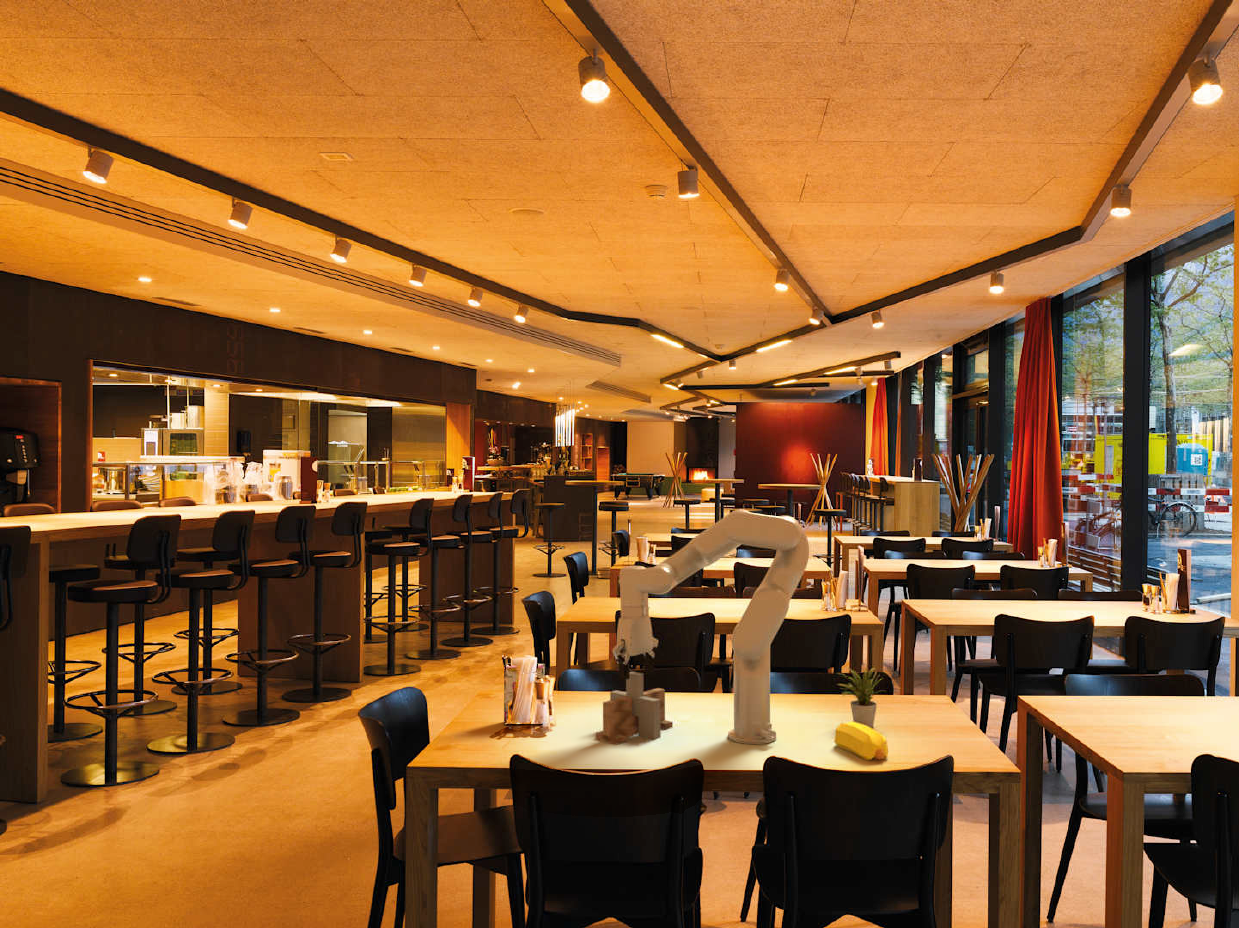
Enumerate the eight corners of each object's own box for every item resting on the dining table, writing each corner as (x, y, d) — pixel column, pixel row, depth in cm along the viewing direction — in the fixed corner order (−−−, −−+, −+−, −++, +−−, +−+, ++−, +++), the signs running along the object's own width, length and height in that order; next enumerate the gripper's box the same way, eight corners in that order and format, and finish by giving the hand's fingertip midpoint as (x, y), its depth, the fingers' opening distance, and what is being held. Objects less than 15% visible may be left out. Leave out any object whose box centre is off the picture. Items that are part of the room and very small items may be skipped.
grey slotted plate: (660, 737, 253) (660, 676, 253) (654, 739, 251) (653, 678, 251) (616, 726, 263) (616, 668, 264) (610, 728, 262) (610, 670, 262)
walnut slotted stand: (650, 722, 268) (650, 686, 268) (672, 727, 262) (672, 690, 262) (595, 738, 252) (595, 700, 252) (617, 744, 246) (617, 705, 246)
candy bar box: (503, 726, 265) (503, 667, 265) (505, 721, 270) (505, 663, 270) (544, 725, 265) (543, 666, 265) (544, 720, 270) (544, 663, 270)
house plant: (846, 715, 274) (846, 658, 274) (894, 721, 267) (894, 663, 267) (830, 727, 262) (830, 667, 262) (880, 733, 255) (880, 672, 255)
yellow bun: (853, 741, 248) (828, 744, 245) (853, 716, 248) (827, 718, 246) (895, 761, 231) (868, 765, 229) (895, 734, 231) (868, 737, 229)
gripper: (645, 607, 266) (647, 668, 266) (602, 615, 254) (604, 679, 253) (666, 609, 261) (668, 671, 261) (622, 617, 248) (625, 683, 248)
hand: (636, 675), depth 257 cm, fingers open, 9 cm apart
